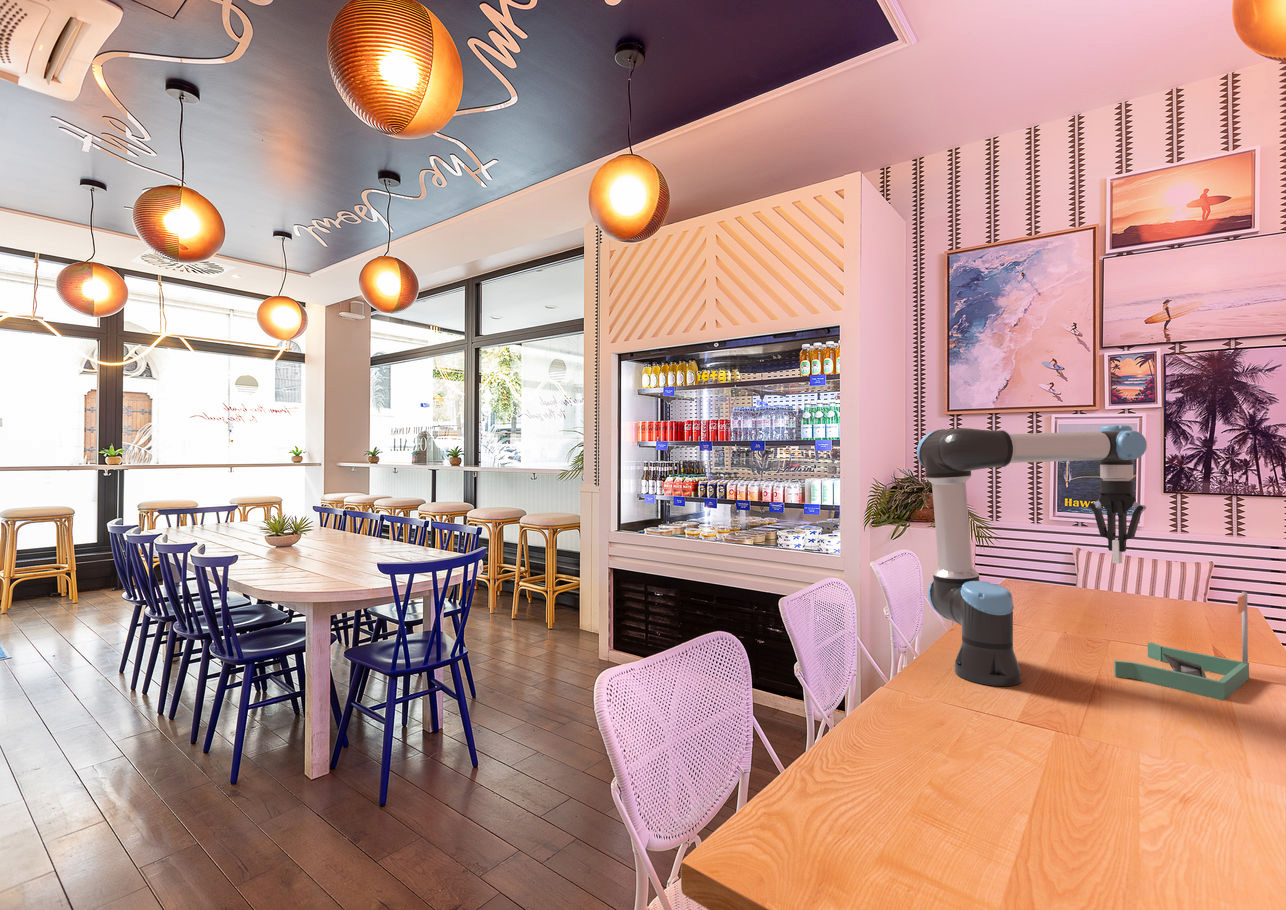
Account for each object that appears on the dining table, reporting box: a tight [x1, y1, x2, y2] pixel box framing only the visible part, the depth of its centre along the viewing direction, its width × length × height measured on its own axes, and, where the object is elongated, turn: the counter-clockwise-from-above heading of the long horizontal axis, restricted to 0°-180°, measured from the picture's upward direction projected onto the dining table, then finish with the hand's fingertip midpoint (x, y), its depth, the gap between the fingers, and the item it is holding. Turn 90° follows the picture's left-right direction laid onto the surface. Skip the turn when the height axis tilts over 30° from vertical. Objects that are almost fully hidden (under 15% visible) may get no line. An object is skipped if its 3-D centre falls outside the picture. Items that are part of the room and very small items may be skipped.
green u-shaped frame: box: [1113, 591, 1250, 701], centre depth 159 cm, size 21×27×22 cm
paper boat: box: [1163, 653, 1207, 678], centre depth 153 cm, size 12×6×9 cm
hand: (1117, 562), depth 176 cm, fingers closed
